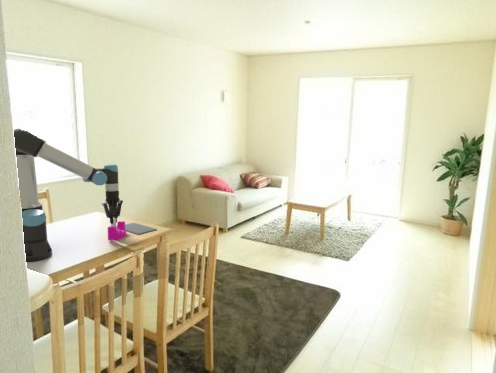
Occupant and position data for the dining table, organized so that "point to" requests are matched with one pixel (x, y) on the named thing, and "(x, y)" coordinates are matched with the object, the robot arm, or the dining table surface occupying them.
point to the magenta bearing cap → (117, 231)
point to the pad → (138, 228)
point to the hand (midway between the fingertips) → (113, 228)
